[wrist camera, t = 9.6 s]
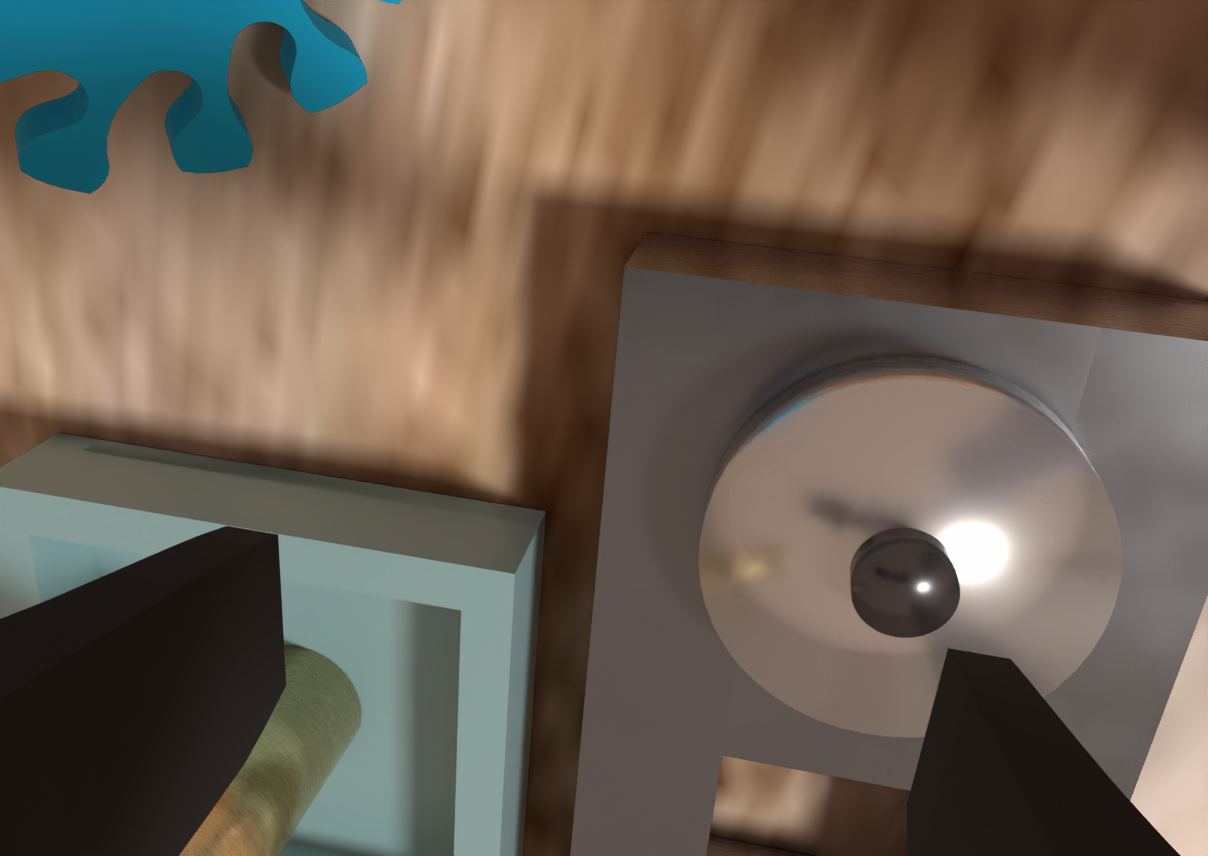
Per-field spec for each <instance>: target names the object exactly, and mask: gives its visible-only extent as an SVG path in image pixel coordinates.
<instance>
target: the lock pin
mask: <svg viewBox="0 0 1208 856" xmlns="http://www.w3.org/2000/svg"><path fill="white" fill-rule="evenodd" d="M284 652H285V670H286V687H285V689H284V691H283V693H282V695H281V697H280V699H279V701H278V703H277V705H276V707H275V709H274V711H273V713H272V715H271V716H270V718H269V720H268V722H267V724H266V726H265V728H264V730H263V732H262V734H261V735H260V737H259V739H258V741H257V743H256V744H255V746H254V748H253V750H252V752H251V753H250V755H249V757H248V759H247V761H246V762H245V764H244V765H243V767H242V768H241V770H240V771H239V773H238V774H237V776H236V777H235V778H234V780H233V781H232V783H231V784H230V786H229V787H228V788H227V790H226V791H225V793H224V794H223V795H222V797H221V798H220V800H219V801H218V802H217V804H216V805H215V807H214V808H213V809H212V811H211V812H210V814H209V815H208V816H207V818H206V819H205V821H204V822H203V823H202V825H201V826H200V828H199V829H198V830H197V832H196V833H195V834H194V836H193V837H192V838H191V840H190V841H189V843H188V844H187V845H186V847H185V848H184V849H183V851H182V852H181V854H180V855H179V856H278V855H279V853H280V852H281V850H282V849H283V847H284V846H285V844H286V842H287V841H288V839H289V838H290V836H291V835H292V833H293V832H294V830H295V829H296V827H297V825H298V824H299V822H300V821H301V819H302V818H303V816H304V815H305V813H306V812H307V810H308V808H309V807H310V805H311V804H312V802H313V801H314V799H315V798H316V796H317V795H318V793H319V791H320V790H321V788H322V787H323V785H324V784H325V782H326V781H327V779H328V778H329V776H330V774H331V773H332V771H333V770H334V768H335V767H336V765H337V764H338V762H339V761H340V759H341V757H342V756H343V754H344V753H345V751H346V750H347V748H348V747H349V745H350V744H351V742H352V740H353V739H354V737H355V736H356V734H357V732H358V730H359V727H360V724H361V717H362V711H361V704H360V700H359V697H358V694H357V692H356V690H355V688H354V686H353V684H352V683H351V681H350V680H349V678H348V677H347V676H346V675H345V673H344V672H343V671H342V670H341V669H340V668H339V667H338V666H337V665H335V664H334V663H333V662H332V661H330V660H329V659H327V658H326V657H324V656H322V655H321V654H319V653H316V652H314V651H312V650H309V649H306V648H303V647H299V646H293V645H284Z"/></svg>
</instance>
